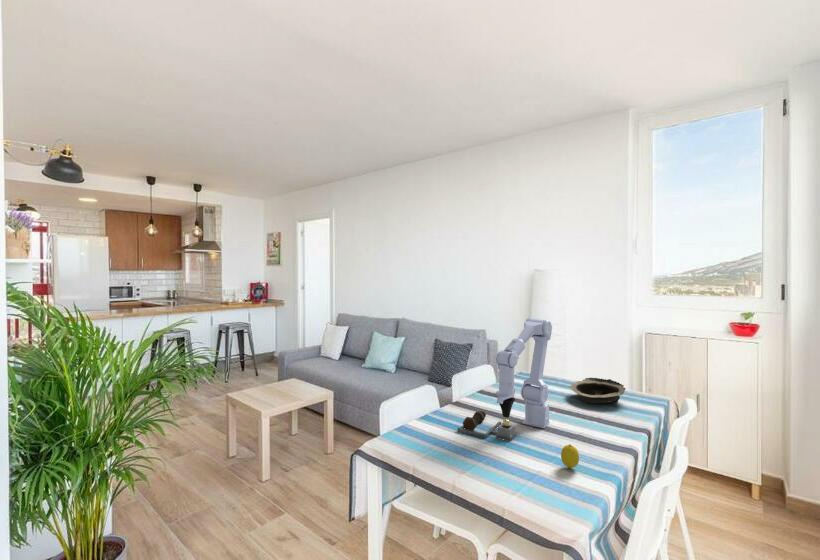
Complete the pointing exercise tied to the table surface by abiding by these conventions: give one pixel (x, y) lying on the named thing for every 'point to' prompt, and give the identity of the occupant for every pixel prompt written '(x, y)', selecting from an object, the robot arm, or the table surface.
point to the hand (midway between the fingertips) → (506, 416)
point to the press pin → (506, 423)
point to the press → (493, 432)
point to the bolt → (474, 420)
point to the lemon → (570, 456)
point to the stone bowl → (598, 390)
